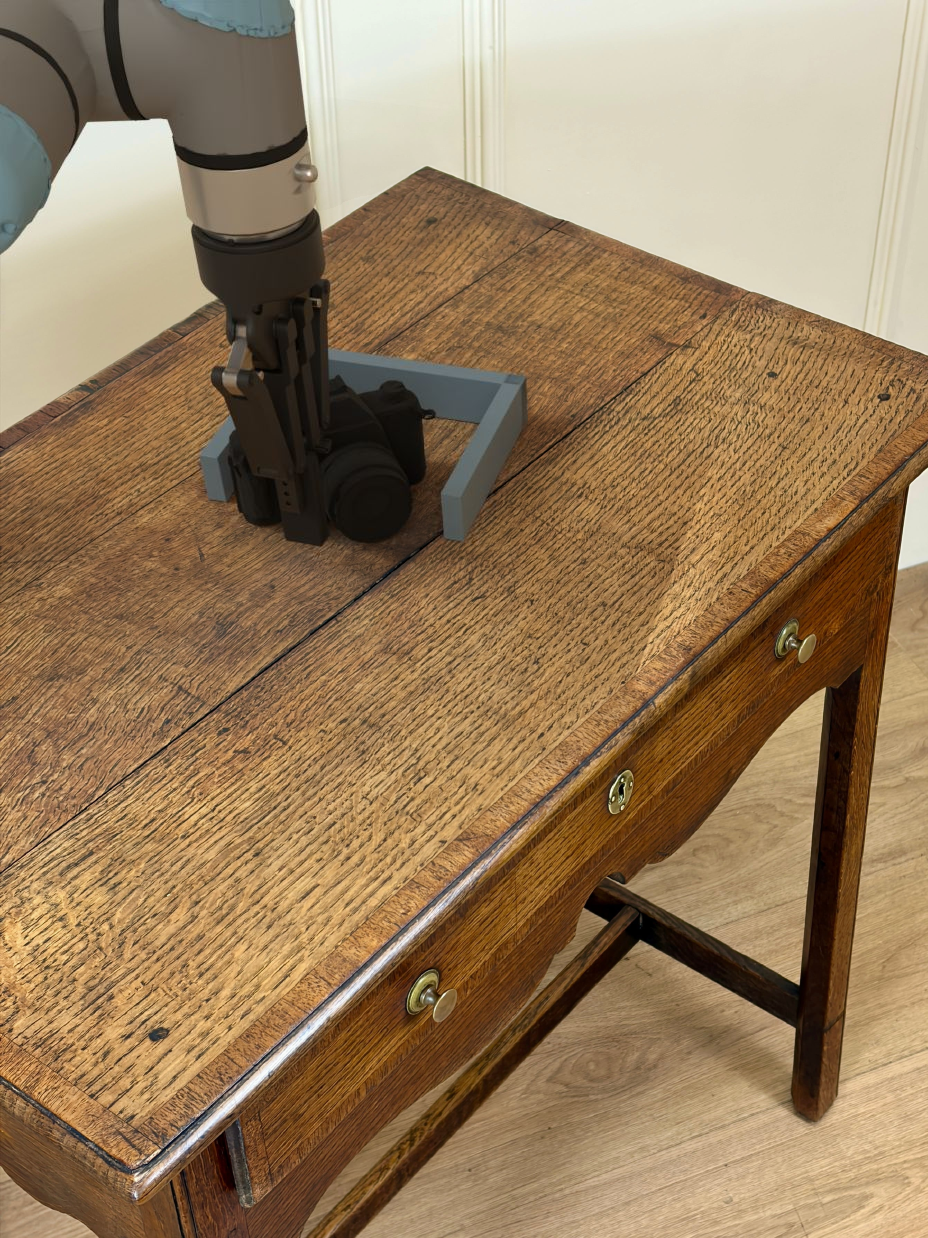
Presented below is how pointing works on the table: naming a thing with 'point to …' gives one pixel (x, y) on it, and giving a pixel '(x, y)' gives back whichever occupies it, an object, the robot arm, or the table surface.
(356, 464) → the film camera
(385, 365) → the u-shaped bracket
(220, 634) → the table surface
